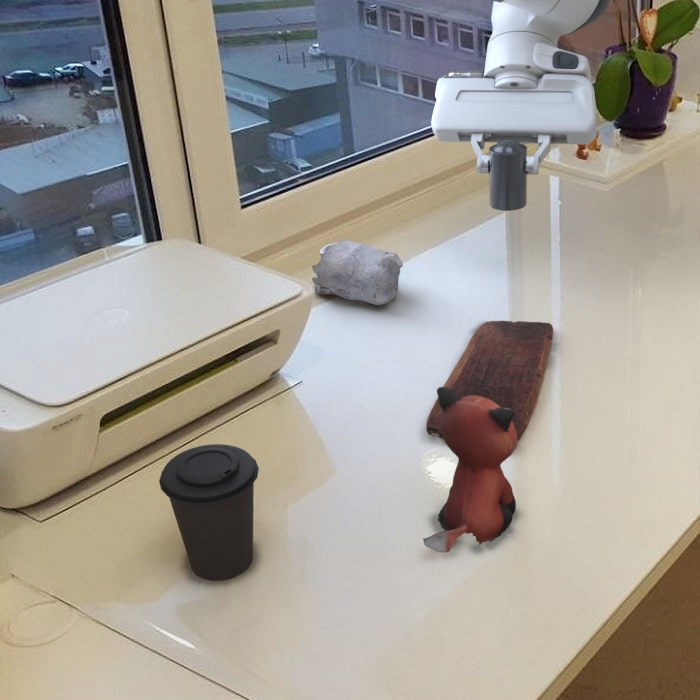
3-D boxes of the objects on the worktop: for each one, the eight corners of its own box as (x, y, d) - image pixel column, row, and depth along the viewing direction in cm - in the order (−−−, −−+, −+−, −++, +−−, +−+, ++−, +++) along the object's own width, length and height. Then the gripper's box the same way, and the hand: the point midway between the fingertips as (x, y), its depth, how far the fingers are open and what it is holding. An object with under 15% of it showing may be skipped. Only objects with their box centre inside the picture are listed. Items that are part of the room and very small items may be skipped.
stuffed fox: (395, 552, 90) (389, 433, 85) (453, 483, 99) (452, 370, 93) (476, 579, 87) (475, 456, 81) (530, 505, 95) (533, 389, 89)
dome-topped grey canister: (523, 196, 135) (523, 133, 131) (529, 209, 131) (530, 144, 127) (486, 199, 135) (486, 136, 131) (492, 212, 131) (491, 147, 127)
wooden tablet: (481, 310, 127) (565, 309, 123) (483, 326, 128) (567, 326, 124) (418, 428, 105) (518, 431, 101) (421, 447, 106) (520, 451, 102)
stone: (387, 315, 130) (385, 263, 127) (304, 299, 136) (300, 249, 132) (416, 290, 136) (415, 240, 133) (336, 276, 142) (332, 227, 138)
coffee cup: (255, 595, 87) (242, 494, 82) (160, 588, 88) (142, 489, 83) (278, 533, 94) (268, 437, 89) (190, 527, 95) (175, 432, 90)
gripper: (434, 58, 134) (419, 158, 130) (601, 57, 128) (590, 162, 124) (442, 84, 139) (428, 180, 136) (602, 85, 134) (592, 185, 130)
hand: (507, 172), depth 130 cm, fingers closed on dome-topped grey canister, 4 cm apart
